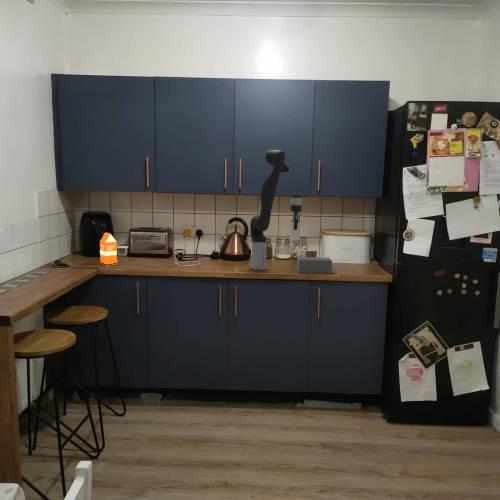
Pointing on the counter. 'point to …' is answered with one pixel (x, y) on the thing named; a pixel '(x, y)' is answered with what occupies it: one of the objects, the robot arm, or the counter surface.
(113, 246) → the orange juice
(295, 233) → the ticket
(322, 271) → the dispenser
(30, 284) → the counter surface
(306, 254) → the small box
